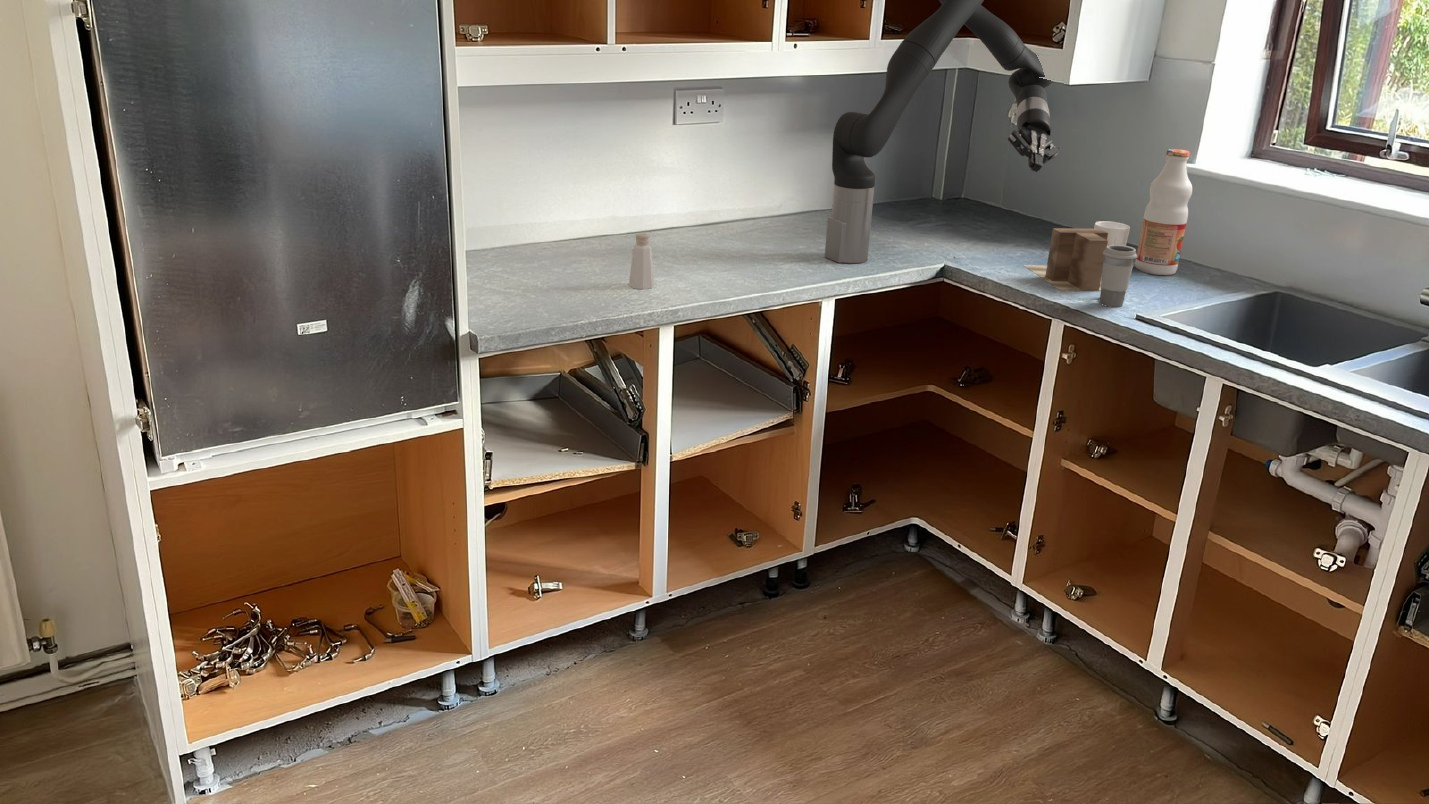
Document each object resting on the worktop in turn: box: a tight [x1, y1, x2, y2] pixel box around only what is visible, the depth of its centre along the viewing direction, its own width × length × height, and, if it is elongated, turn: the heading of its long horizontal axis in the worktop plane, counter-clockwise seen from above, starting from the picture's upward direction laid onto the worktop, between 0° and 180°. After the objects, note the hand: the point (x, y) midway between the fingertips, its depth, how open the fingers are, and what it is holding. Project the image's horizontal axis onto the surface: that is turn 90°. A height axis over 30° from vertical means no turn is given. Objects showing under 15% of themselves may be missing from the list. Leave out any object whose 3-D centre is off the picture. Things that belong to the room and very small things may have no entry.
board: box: [1023, 264, 1101, 292], centre depth 247 cm, size 21×13×1 cm, turn 8°
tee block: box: [1045, 227, 1108, 290], centre depth 240 cm, size 11×11×11 cm
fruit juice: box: [1134, 148, 1193, 276], centre depth 254 cm, size 9×9×28 cm
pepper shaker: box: [628, 232, 656, 290], centre depth 227 cm, size 5×5×11 cm
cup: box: [1099, 245, 1137, 308], centre depth 229 cm, size 7×7×12 cm
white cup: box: [1093, 220, 1131, 246], centre depth 259 cm, size 8×8×10 cm
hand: (1036, 168), depth 247 cm, fingers closed
